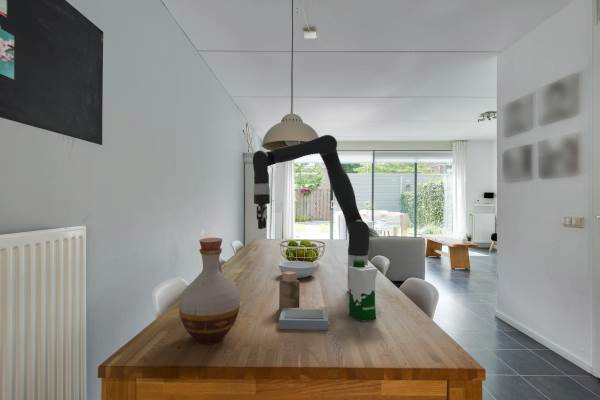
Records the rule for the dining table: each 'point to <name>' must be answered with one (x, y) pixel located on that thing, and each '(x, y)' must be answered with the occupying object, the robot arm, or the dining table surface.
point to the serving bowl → (298, 268)
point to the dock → (303, 319)
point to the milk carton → (362, 291)
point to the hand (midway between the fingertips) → (262, 228)
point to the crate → (289, 294)
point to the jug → (209, 298)
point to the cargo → (289, 276)
